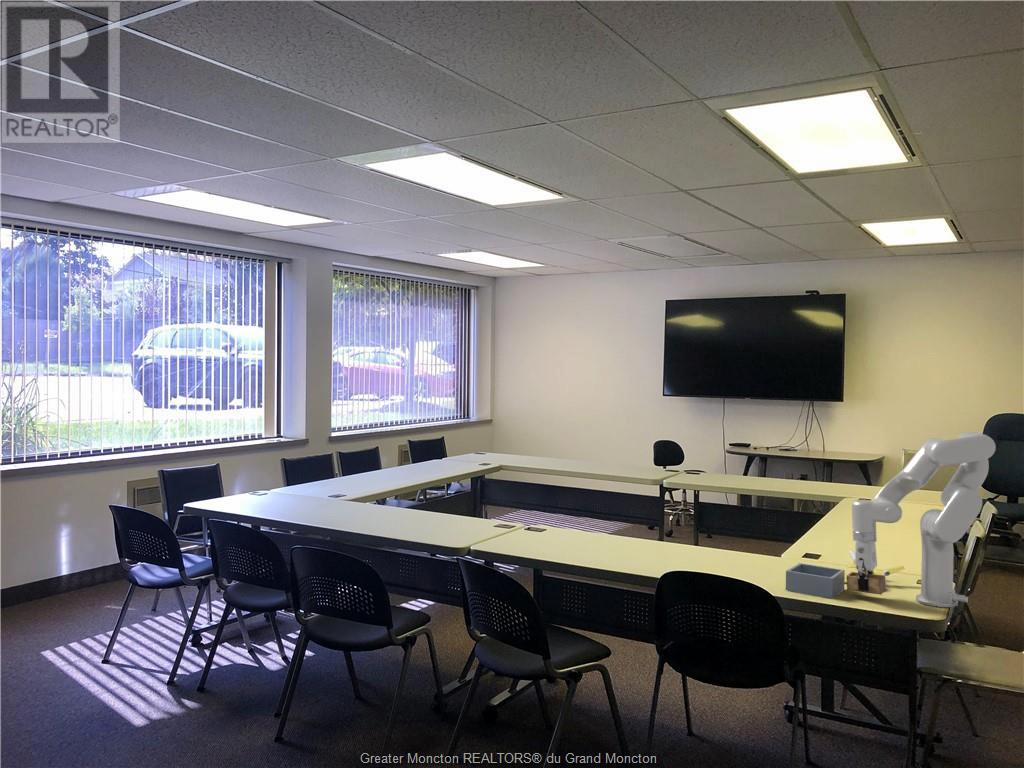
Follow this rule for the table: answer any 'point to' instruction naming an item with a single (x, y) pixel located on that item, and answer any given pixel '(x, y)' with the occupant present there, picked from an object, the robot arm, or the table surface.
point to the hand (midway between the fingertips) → (866, 587)
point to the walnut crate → (874, 583)
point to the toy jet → (881, 572)
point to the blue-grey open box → (815, 580)
